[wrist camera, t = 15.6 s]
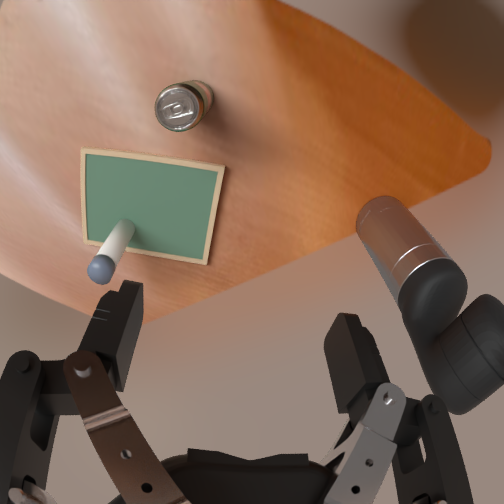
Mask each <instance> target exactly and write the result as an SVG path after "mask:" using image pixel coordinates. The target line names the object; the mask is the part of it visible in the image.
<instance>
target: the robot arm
mask: <svg viewBox="0 0 504 504" xmlns="http://www.w3.org/2000/svg"><path fill="white" fill-rule="evenodd" d="M356 230H357V233H358V236H359V237H360V239H361V241H362V243H363V244H364V246H365V248H366V250H367V251H368V253H369V255H370V256H371V258H372V260H373V261H374V263H375V265H376V267H377V268H378V270H379V272H380V274H381V276H382V277H383V279H384V281H385V283H386V284H387V286H388V288H389V290H390V292H391V294H392V295H393V297H394V299H395V301H396V303H397V305H398V307H399V309H400V311H401V313H402V318H403V322H404V325H405V327H406V329H407V331H408V333H409V336H410V338H411V340H412V343H413V345H414V348H415V351H416V353H417V356H418V359H419V361H420V364H421V367H422V370H423V372H424V375H425V377H426V379H427V382H428V384H429V386H430V388H431V390H432V392H433V394H434V395H433V394H429V395H427V396H425V397H424V398H423V399H422V400H421V401H420V400H415V399H412V398H408V397H405V394H404V392H403V391H402V390H401V389H400V388H399V387H398V386H396V385H394V384H392V383H390V380H389V377H388V374H387V372H386V369H385V366H384V364H383V361H382V358H381V356H380V355H379V354H380V353H379V350H378V348H377V345H376V343H375V340H374V337H373V335H372V334H371V333H370V332H369V331H368V329H367V328H366V327H362V325H361V322H360V319H359V317H358V315H356V314H348V313H339V314H338V315H337V317H336V319H335V321H334V323H333V324H332V326H331V328H330V330H329V332H328V333H327V335H326V337H325V341H324V352H325V356H326V360H327V364H328V368H329V373H330V377H331V381H332V386H333V390H334V395H335V399H336V403H337V408H338V413H339V414H340V413H349V419H348V420H347V421H346V423H345V425H344V426H343V428H342V430H341V432H340V434H339V435H338V437H337V439H336V441H335V442H334V444H333V446H332V448H331V449H330V451H329V452H328V454H327V455H326V456H325V457H324V458H323V459H322V461H321V462H320V463H319V464H318V463H316V462H313V461H309V460H308V454H278V455H274V456H270V457H265V458H261V459H256V460H246V459H242V458H239V457H235V456H232V455H229V454H225V453H222V452H219V451H209V450H199V449H190V448H188V451H187V454H185V455H178V456H173V457H170V458H167V459H165V460H163V461H161V462H160V461H159V460H158V458H157V457H156V455H155V453H154V452H153V450H152V449H151V447H150V446H149V444H148V443H147V441H146V439H145V438H144V436H143V434H142V433H141V431H140V429H139V428H138V426H137V424H136V423H135V421H134V419H133V417H132V416H131V414H130V413H129V411H128V410H127V409H125V407H124V406H123V404H122V402H121V400H120V399H119V397H118V395H117V393H116V391H119V392H123V391H124V387H125V383H126V379H127V375H128V371H129V368H130V364H131V360H132V356H133V353H134V349H135V346H136V342H137V339H138V335H139V332H140V328H141V325H142V320H143V283H140V282H134V281H129V280H124V281H123V283H122V285H121V287H120V290H119V292H116V291H111V290H110V291H108V292H107V293H106V294H105V295H104V296H103V297H101V299H100V301H99V303H98V305H97V307H96V310H95V312H94V314H93V317H92V318H91V321H90V323H89V325H88V327H87V330H86V332H85V334H84V336H83V339H82V341H81V344H80V346H79V348H78V350H77V351H75V352H73V353H71V354H70V355H68V356H67V358H66V359H64V360H58V361H40V359H39V357H38V356H37V355H36V354H35V353H33V352H31V351H27V350H24V351H19V352H16V353H15V354H13V355H12V356H11V357H10V358H9V360H8V362H7V364H6V367H5V369H4V371H3V374H2V376H1V379H0V504H57V503H56V501H55V499H54V498H53V497H52V496H51V495H50V494H49V493H47V492H46V491H45V488H46V482H47V475H48V469H49V463H50V458H51V453H52V448H53V443H54V438H55V434H56V429H57V425H58V421H59V417H60V415H80V416H81V418H82V420H83V423H84V426H85V429H86V431H87V433H88V435H89V437H90V439H91V441H92V443H93V446H94V448H95V449H96V452H97V453H98V455H99V457H100V459H101V461H102V463H103V465H104V467H105V469H106V470H107V472H108V474H109V475H110V477H111V479H112V481H113V483H114V484H115V486H116V488H117V489H118V491H119V493H120V495H118V496H117V497H116V498H115V499H113V500H112V501H111V502H110V503H108V504H372V503H373V501H374V499H375V497H376V495H377V493H378V491H379V488H380V486H381V484H382V482H383V480H384V477H385V475H386V473H387V471H388V468H389V466H390V463H391V461H392V466H393V471H394V477H395V483H396V489H397V495H398V501H399V504H474V503H473V498H472V494H471V489H470V485H469V481H468V477H467V473H466V469H465V465H464V462H463V458H462V454H461V451H460V448H459V444H458V441H457V438H456V434H455V432H454V428H453V425H452V422H451V419H450V416H449V413H448V411H449V412H450V413H452V414H455V415H462V414H465V413H467V412H469V411H470V410H472V409H473V408H474V407H476V406H477V405H479V404H480V403H481V402H482V401H484V400H485V399H486V398H488V397H489V396H490V395H491V394H493V393H494V392H495V391H496V390H497V389H499V388H500V387H501V386H502V385H503V384H504V305H503V304H502V303H501V302H500V301H499V300H498V299H497V298H495V297H493V296H491V295H489V294H484V295H481V296H479V297H478V298H477V299H475V300H474V301H473V302H472V303H471V304H470V305H469V306H468V307H467V308H466V309H465V310H464V311H463V312H462V313H461V314H460V315H459V316H458V317H457V315H458V313H459V311H460V309H461V307H462V305H463V303H464V301H465V298H466V295H467V288H468V285H467V280H466V277H465V275H464V273H463V272H462V271H461V269H460V268H459V267H458V266H457V264H456V263H455V262H454V260H453V259H452V258H451V257H450V256H449V255H448V253H447V252H446V251H445V250H444V249H443V248H442V247H441V246H440V244H439V243H438V242H437V241H436V240H435V238H434V237H432V235H431V234H430V233H429V232H428V231H427V230H426V229H425V227H424V226H423V225H422V224H421V223H420V222H419V221H418V220H417V219H416V218H415V217H414V216H413V215H412V213H411V212H410V211H409V210H408V209H407V208H406V207H405V206H404V205H403V204H402V203H401V202H400V201H399V200H397V199H396V198H393V197H390V196H382V197H378V198H375V199H373V200H371V201H370V202H368V203H367V204H366V205H365V206H364V207H363V208H362V210H361V211H360V213H359V215H358V218H357V221H356ZM421 437H422V440H423V444H424V448H425V452H426V460H425V462H424V460H423V456H422V453H421V448H420V444H419V439H420V438H421Z"/></svg>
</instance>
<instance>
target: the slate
mask: <svg viewBox="0 0 504 504" xmlns="http://www.w3.org/2000/svg"><path fill="white" fill-rule="evenodd" d="M224 169H225V165H221V164H215V163H209V162H203V161H197V160H191V159H185V158H178V157H172V156H165V155H157V154H150V153H142V152H134V151H126V150H117V149H107V148H97V147H86V146H84V147H82V148H81V211H82V228H83V241H84V244H89V245H95V246H100V247H102V245H103V244H104V242H105V241H106V239H107V238H108V236H109V235H110V233H111V232H112V230H113V229H114V227H115V226H116V224H117V223H118V221H119V220H121V219H128V220H130V221H132V222H133V224H134V226H135V232H134V234H133V236H132V238H131V240H130V242H129V243H128V245H127V247H126V249H125V251H128V252H133V253H139V254H144V255H150V256H156V257H162V258H167V259H173V260H179V261H185V262H191V263H197V264H203V265H207V261H208V255H209V249H210V243H211V238H212V232H213V227H214V221H215V216H216V210H217V205H218V200H219V195H220V189H221V184H222V179H223V174H224Z"/></svg>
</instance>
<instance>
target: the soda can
mask: <svg viewBox="0 0 504 504" xmlns="http://www.w3.org/2000/svg"><path fill="white" fill-rule="evenodd" d="M213 98H214V97H213V92H212V90H211V88H210V87H209V86H208V85H207V84H206V83H204V82H202V81H198V80H192V81H186V82H182V83H177V84H173V85H170V86H168V87H166V88H165V89H164V90H163V91H162V92H161V93H160V94H159V95H158V97H157V99H156V102H155V114H156V117H157V119H158V121H159V122H160V124H161V125H162V126H164V127H165V128H167V129H168V130H171V131H176V132H182V131H187V130H189V129H191V128H193V127H194V126H196V125H197V124H198V123H199V121H200V120H201V119H202V118H203V117H204V115H205V114H206V113H207V112H208V110H209V109H210V108H211V106H212V104H213Z"/></svg>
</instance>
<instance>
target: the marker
mask: <svg viewBox="0 0 504 504" xmlns="http://www.w3.org/2000/svg"><path fill="white" fill-rule="evenodd" d="M134 232H135V226H134V224H133V222H132V221H130V220H128V219H121V220H119V221H118V223H117V224H116V226H115V227H114V229H113V230H112V232H111V233H110V235H109V236H108V238H107V239H106V241H105V242H104V244H103V245H102V247H101V248H100V250H99V252H98V253H97V255H96V256H95V257H94V258H93V260H92V261H91V263H90V265H89V266H88V269H87V273H88V276H89V277H90V279H91V280H92V281H94V282H95V283H97V284H101V285H104V284H107V283H109V282H110V280H111V278H112V276H113V274H114V272H115V269H116V266H117V264H118V262H119V260H120V258H121V257H122V255H123V253H124V251H125V249H126V247H127V245H128V243H129V242H130V240H131V238H132V236H133V234H134Z"/></svg>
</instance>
